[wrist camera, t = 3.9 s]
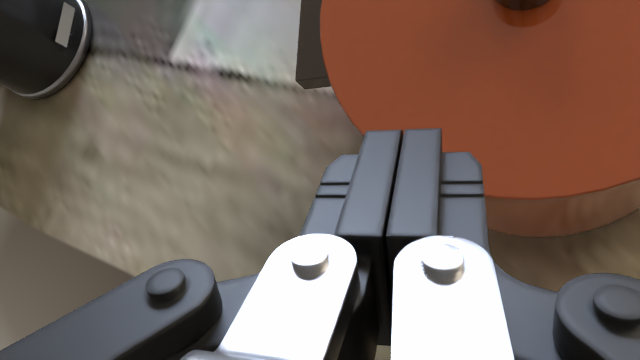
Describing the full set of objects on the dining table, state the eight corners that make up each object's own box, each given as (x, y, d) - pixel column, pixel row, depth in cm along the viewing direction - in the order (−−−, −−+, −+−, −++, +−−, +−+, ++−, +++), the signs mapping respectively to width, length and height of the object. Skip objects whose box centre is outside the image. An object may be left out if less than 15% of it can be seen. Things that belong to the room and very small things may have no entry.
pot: (357, 239, 30) (249, 198, 19) (368, -8, 33) (282, -159, 22) (781, 244, 22) (991, 181, 12) (738, -74, 26) (871, -347, 15)
